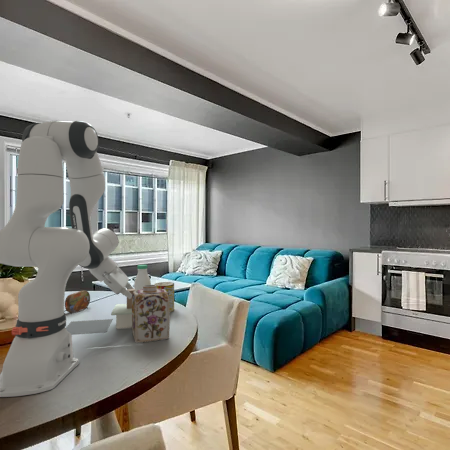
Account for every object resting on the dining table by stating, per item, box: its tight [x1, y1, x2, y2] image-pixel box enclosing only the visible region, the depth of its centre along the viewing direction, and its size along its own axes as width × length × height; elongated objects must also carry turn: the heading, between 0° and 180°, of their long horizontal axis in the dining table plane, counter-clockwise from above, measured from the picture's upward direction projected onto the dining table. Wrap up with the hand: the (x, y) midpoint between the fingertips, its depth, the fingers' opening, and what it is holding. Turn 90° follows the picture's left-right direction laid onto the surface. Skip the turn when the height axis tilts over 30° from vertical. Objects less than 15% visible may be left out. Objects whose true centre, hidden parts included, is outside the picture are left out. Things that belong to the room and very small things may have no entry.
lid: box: [110, 288, 135, 316], centre depth 125 cm, size 13×13×8 cm
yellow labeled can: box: [153, 281, 175, 313], centre depth 147 cm, size 9×9×12 cm
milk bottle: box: [133, 264, 152, 291], centre depth 151 cm, size 8×8×20 cm
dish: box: [115, 314, 132, 330], centre depth 125 cm, size 10×10×6 cm
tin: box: [64, 290, 91, 314], centre depth 147 cm, size 15×3×8 cm, turn 168°
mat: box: [65, 318, 113, 336], centre depth 122 cm, size 16×16×1 cm
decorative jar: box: [131, 284, 171, 344], centre depth 113 cm, size 12×12×18 cm
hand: (132, 294), depth 125 cm, fingers open, 8 cm apart
